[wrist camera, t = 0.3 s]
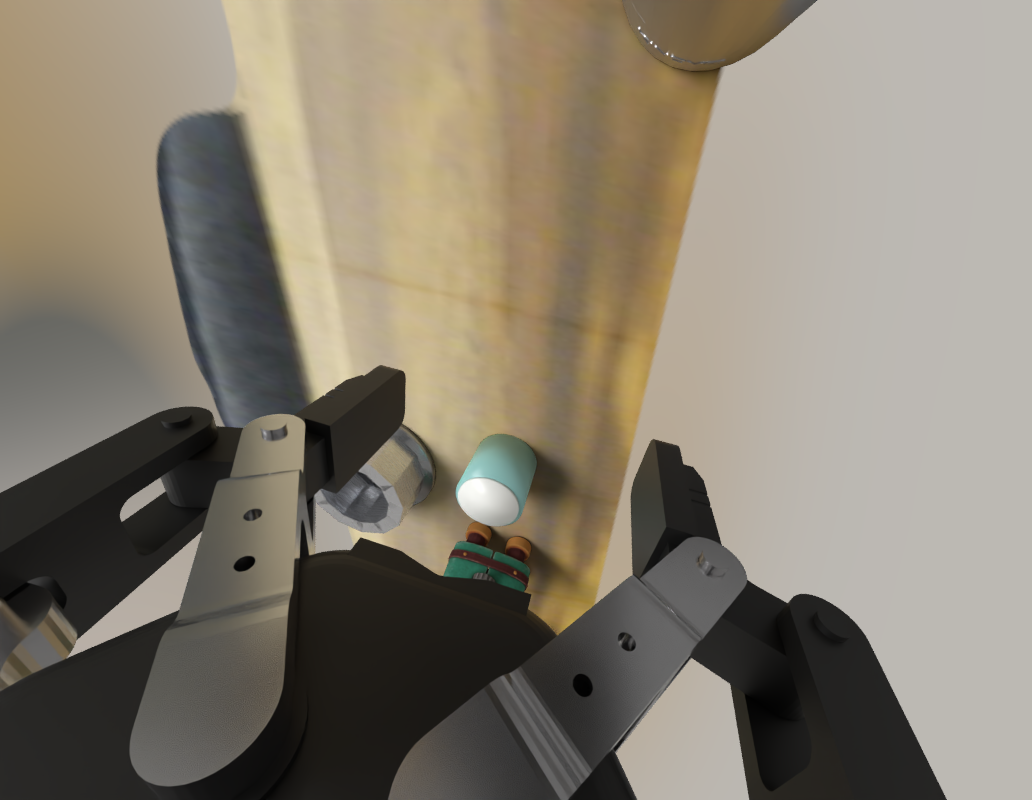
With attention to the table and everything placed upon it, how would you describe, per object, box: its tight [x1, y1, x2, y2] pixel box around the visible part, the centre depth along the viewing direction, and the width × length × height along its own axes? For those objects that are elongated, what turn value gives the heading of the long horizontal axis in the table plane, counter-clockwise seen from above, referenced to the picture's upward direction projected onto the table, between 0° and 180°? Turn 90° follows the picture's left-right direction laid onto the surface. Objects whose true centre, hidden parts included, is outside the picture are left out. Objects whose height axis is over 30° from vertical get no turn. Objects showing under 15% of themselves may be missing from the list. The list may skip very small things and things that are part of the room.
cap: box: [456, 434, 537, 526], centre depth 34 cm, size 6×6×6 cm
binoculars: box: [443, 522, 531, 592], centre depth 40 cm, size 9×11×10 cm
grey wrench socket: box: [315, 424, 436, 533], centre depth 39 cm, size 12×12×5 cm
